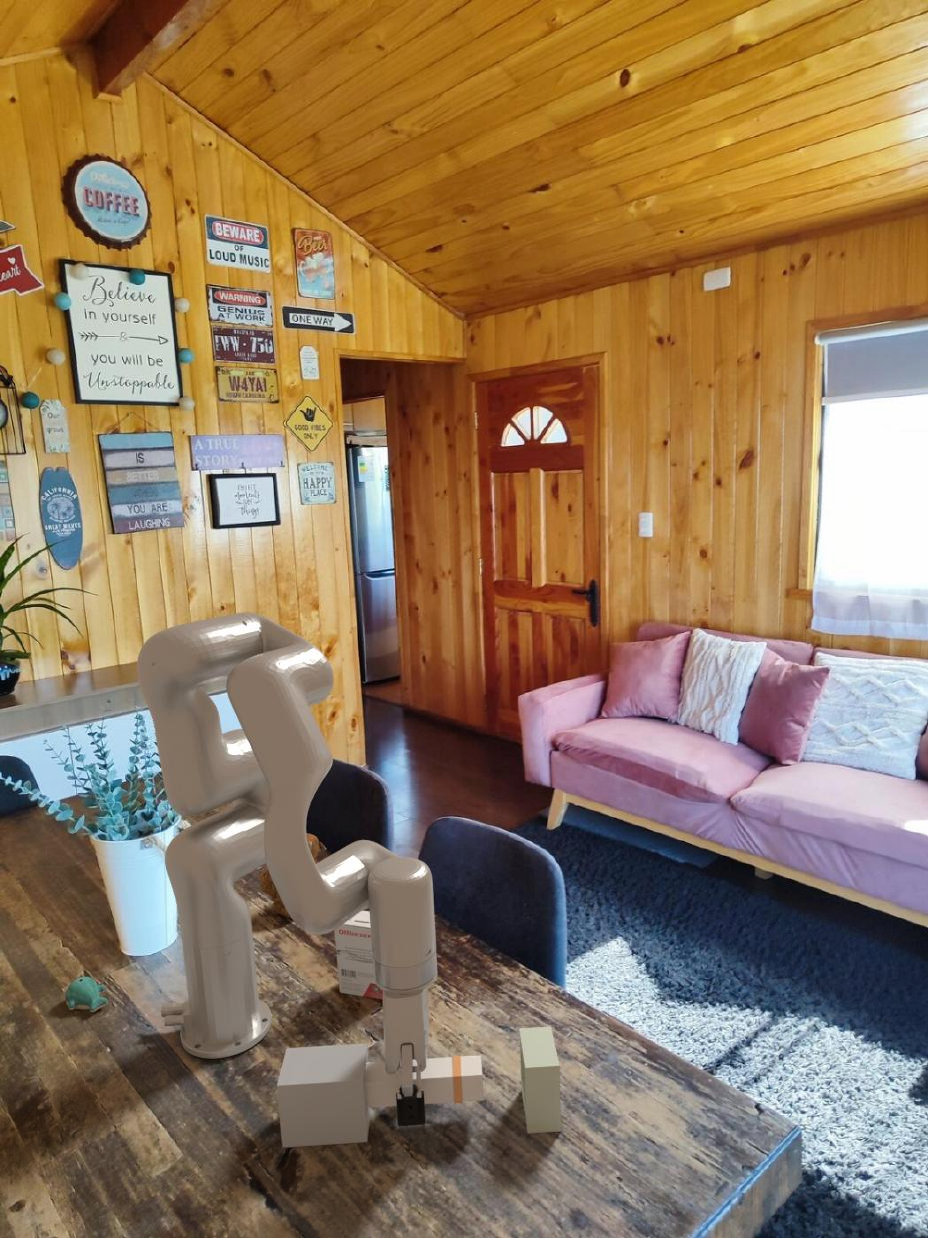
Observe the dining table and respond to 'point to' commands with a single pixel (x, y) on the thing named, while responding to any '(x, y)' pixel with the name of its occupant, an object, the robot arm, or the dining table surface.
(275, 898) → the stuffed squirrel
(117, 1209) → the dining table surface
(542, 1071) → the socket
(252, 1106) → the dining table surface
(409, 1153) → the dining table surface
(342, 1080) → the grey block
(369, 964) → the ink box
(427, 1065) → the orange-striped white bar
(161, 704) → the robot arm
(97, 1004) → the whale figurine
